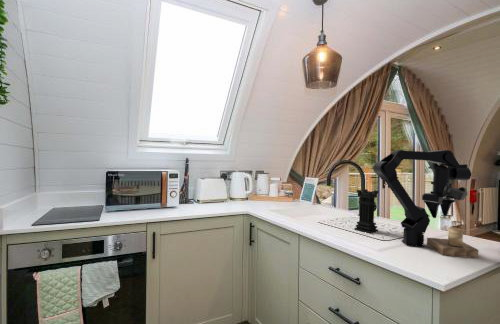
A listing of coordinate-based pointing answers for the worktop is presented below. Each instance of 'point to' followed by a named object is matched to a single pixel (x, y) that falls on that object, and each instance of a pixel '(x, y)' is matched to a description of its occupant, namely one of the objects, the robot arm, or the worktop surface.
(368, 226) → the chess piece
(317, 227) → the worktop surface
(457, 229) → the oak peg
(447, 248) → the walnut block
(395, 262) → the worktop surface
